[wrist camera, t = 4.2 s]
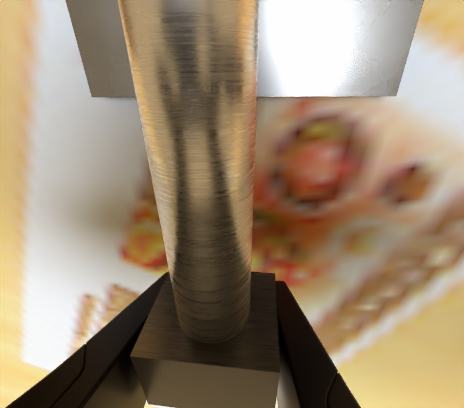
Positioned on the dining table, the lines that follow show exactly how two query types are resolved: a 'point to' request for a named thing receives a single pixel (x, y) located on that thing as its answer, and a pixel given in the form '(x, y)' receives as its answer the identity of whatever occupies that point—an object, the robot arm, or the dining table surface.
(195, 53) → the shaft
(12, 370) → the dining table surface
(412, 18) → the bracket
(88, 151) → the dining table surface
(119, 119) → the dining table surface
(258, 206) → the dining table surface
